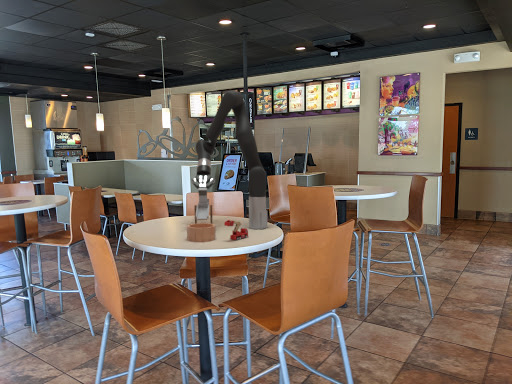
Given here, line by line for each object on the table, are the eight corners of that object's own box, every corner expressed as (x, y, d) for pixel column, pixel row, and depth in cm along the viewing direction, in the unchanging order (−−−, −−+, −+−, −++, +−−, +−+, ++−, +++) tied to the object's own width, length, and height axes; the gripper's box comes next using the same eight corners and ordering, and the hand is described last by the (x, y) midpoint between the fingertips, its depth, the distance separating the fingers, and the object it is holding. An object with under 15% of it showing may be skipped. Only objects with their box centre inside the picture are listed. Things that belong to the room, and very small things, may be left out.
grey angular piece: (198, 203, 205) (197, 182, 198) (210, 203, 205) (209, 182, 198) (196, 223, 189) (194, 201, 182) (208, 223, 189) (207, 201, 183)
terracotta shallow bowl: (220, 237, 185) (220, 224, 184) (203, 243, 174) (203, 229, 173) (199, 234, 191) (199, 222, 191) (181, 239, 180) (181, 226, 180)
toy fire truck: (249, 237, 186) (249, 217, 185) (229, 242, 175) (229, 221, 175) (243, 236, 188) (243, 216, 187) (224, 241, 178) (224, 220, 177)
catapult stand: (193, 229, 205) (192, 203, 204) (215, 229, 206) (215, 203, 204) (190, 235, 191) (190, 207, 190) (214, 234, 192) (214, 206, 190)
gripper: (216, 173, 209) (215, 198, 199) (192, 173, 209) (190, 198, 198) (216, 164, 204) (215, 189, 193) (190, 164, 203) (188, 189, 192)
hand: (202, 194), depth 195 cm, fingers closed
